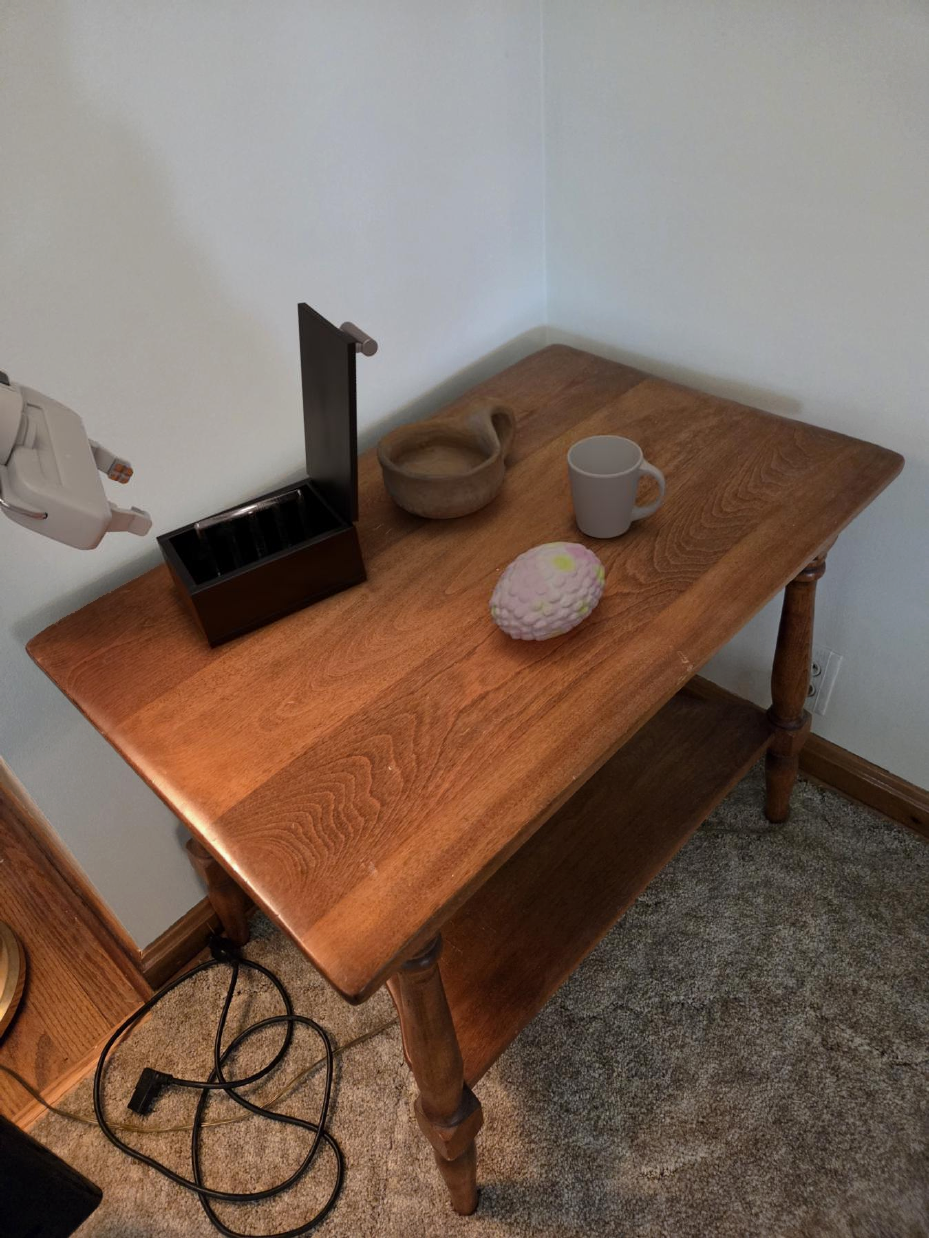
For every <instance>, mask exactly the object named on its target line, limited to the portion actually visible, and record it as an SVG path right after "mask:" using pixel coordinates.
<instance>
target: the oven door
mask: <svg viewBox="0 0 929 1238" xmlns="http://www.w3.org/2000/svg"><path fill="white" fill-rule="evenodd" d="M296 306H297V320H298V321H297V322H298V341H299V342H298V343H299V358H300V360H299V361H300V376H301V379H300V380H301V396H302V413H303V415H302V416H303V432H304V433H303V434H304V447H305V448H304V451H305V468H306V475H307V476H308V477H310V478H311V479H312V480H313V481H314V482H315V483H316V484H317V485H318V486H319V487H320V489H321V490H322V491H323V492H324V493H325V494H326V495H327V496H328V497H329V498H330V500H331V501H332V502H333V503H334V504H335V505H336V506H337V507H338V508H339V509H340V511H341V512H342V513H343V514H344V515H345V516H346V517H347V518H348V519H349V520H350V522H351V523H356V522H359V520H360V518H359V517H360V516H359V463H358V462H359V457H358V453H359V451H358V396H357V395H358V394H357V393H358V391H357V354H360V353H361V354H362V355H364V356H365V357H369V358H370V357H373V356H374V355H376V353H377V352H378V350H379V344H378V342H377V340H375V339H374V338H372V337H371V336H370V335H369V334H368V333H366V332H364V331H363V329H360V328H359V327H358V326H356V324H354V323H353V322H351V321H344V322H343V323H341V324H340V325H339V328H338V327H337V326H336V325H334V324H333V323H332V322H331V321H330V320H328V319H327V318H325V317H324V316H323V315H322V314H321V313H319V312H318V311H317V310H315V309H314V308H313V307H312V306H310V305H309V304H308V303H306V302H297V305H296Z"/></svg>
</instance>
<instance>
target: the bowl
mask: <svg viewBox="0 0 929 1238" xmlns="http://www.w3.org/2000/svg"><path fill="white" fill-rule="evenodd" d="M514 412H515V411H514V410H513V408H512V407H511V406H510V405H509V404H508V403H507V402H506V401H504V400H501V399H499V398H496V397H492V396H479V397H477V398H475V399H474V400H473V401H471V402H470V403H469V404H468V405H467V406H466V407H465V408H464V410H463V411H462V412H461V413H460V414H457V415H456V416H452V417H449V418H436V419H428V420H423V421H421V420H420V421H416V422H409V423H405V424H404V425H402V426H398V427H397V428H395V429H393V430H392V431H389V432H388V433H386V434H385V435H383V436H382V437H381V438H380V440H379V441H378V444H377V447H376V458H377V461H378V464H379V466H380V468H381V476H382V481H383V486H384V489H385V492H386V493H387V494H388V497H390V499H392V501H394V503H395V504H396V505H397V506H399V508H402V509H404V510H405V511H407V512H408V513H410V514H412V515H416V516H419V517H422V518H426V519H427V518H428V519H432V520H433V519H439V520H440V519H441V520H443V519H446V520H447V519H454V518H460V517H463V516H466V515H469V514H473V513H475V512H476V511H478V510H480V509H482V508H483V507H485V506H486V505H488V504H489V503H491V502H492V501H493V500H494V499H495V498H496V496H498V495H499V494H500V493H501V491H502V489H503V488H502V487H503V486H504V485H505V480H506V474H507V473H506V470H507V469H506V465H505V460H506V457H507V456H508V455H509V453H510V450H511V449H512V448H513V444H514V442H515V438H516V433H517V422H516V421H517V420H516V415H515V413H514Z"/></svg>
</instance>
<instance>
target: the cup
mask: <svg viewBox="0 0 929 1238" xmlns="http://www.w3.org/2000/svg"><path fill="white" fill-rule="evenodd" d="M566 463H567V470H568V479H569V486H570V492H571V497H572V503H573V509H574V513H575V521H576V525H577V527H578V529H579V530H580V531H581V532H582V533H583V534H585V535H587V536H590V537H593V538H597V539H611V538H614V537H618V536H620V535H622V534H624V533H626V532H627V531H628V530H629V528H630V527H631V524H632V522H634V521H637V520H638V521H639V520H641V519H644V518H647V517H650V516H651V515H652V514H654V513H655V512H656V511H657V510H658V509H659V508H660V506H661V505H662V503H663V501H664V497H665V496H666V495H665V494H666V488H667V485H666V479H665V476H664V474H663V472H662V471H661V470H660V469H658V467H656V466H654V465H653V464H651V463H649V462H648V461H647V460H646V459H645V458H644V453H643V450H642V448H641V447H640V446H639V445H638V443H636V442H634V441H633V440H631V439H629V438H626V437H623V436H618V435H607V434H603V435H594V436H589V437H585V438H583V439H581V440H578V441H577V442H576V443H574V444H573V445H572V446H571V447H570V448H569V450H568V451H567V454H566ZM642 476H650V477H652V478H654V479H655V480H656V481H657V484H658V486H659V496H658V498H657V499H656V501H654V502H652V503H651V504H649V505H646V506H638V505H636V502H637V501H636V500H637V496H638V491H639V485H640V479H641V477H642Z"/></svg>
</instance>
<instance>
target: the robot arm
mask: <svg viewBox="0 0 929 1238" xmlns="http://www.w3.org/2000/svg"><path fill="white" fill-rule="evenodd" d="M99 471H100V472H102V473H104V474H105V475H107V478H108V479H109V480H111V481H114V482H118V483H119V484H122V485H125V484H127V483H129V481H130V480H131V478H132V476H133V474H134V469H133V467H132V463H131V462H130V461H128V460H127V459H124V458H122V457H119V456H117V455H115V454H114V453H113V452H111V451H110V450H108V449H107V448H106V447H104V446H103V445H102V444H100V443H99V442H98V441H96V440H93V439H91V438H89V437H88V434H87V431H86V428H85V424H84V421H83V417H81V416H80V415H79V413H77V412H75V411H74V410H73V409H71V408H70V407H69V406H67V405H65V404H64V403H62V402H60V401H58V400H56V399H54V398H52V397H50V396H49V395H46V394H44V393H43V392H40V391H39V390H36V389H34V388H32V387H30V386H28V385H25V384H24V383H21V382H18V381H14V380H13V381H11V378H10V375H9V373H8V372H7V371H5V370H4V369H1V368H0V510H1V512H2V513H3V514H4V515H5V517H7V519H9V520H11V521H12V522H14V523H15V524H17V525H19V526H21V527H23V528H25V529H26V530H27V529H28V531H32V532H34V533H36V534H39V535H40V536H43V537H45V538H49V539H51V540H54V541H55V542H58V543H60V544H63V545H66V546H67V547H68V546H69V547H70V548H74V549H77V550H79V551H80V550H81V551H91V550H96V549H97V548H98V546H99V545H100V544H101V542H102V540H103V538H104V537H105V536H106V534H107V533H121V532H123V533H126V532H127V533H130V534H133V535H135V536H138V537H145V536H147V535H148V533H149V532H150V530H151V528H152V527H153V524H154V523H153V520H152V518H151V515H150V513H149V512H148V511H147V510H142V509H140V508H139V507H136V506H132V505H131V508H130V509H129V508H124V507H118V505H117V503H115V502H112V501H110V500H108V497H107V495H106V491H105V488H104V485H103V482H102V479H101V476H100V473H99Z"/></svg>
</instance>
